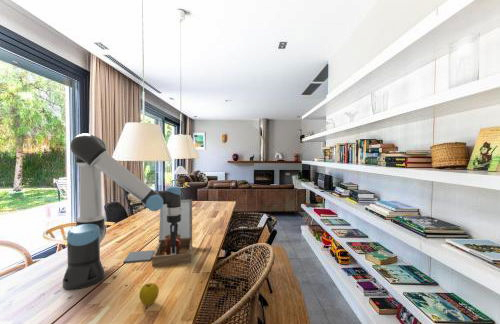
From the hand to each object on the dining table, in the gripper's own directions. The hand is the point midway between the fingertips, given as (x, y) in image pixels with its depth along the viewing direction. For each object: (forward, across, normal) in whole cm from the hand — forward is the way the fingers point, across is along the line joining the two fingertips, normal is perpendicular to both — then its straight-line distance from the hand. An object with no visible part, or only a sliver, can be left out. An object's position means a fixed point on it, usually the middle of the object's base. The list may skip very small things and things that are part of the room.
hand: (174, 254), depth 134 cm
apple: (0, -45, +5) cm, 45 cm away
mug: (0, 0, 0) cm, 1 cm away
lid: (-16, +15, 0) cm, 22 cm away
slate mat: (0, +2, +18) cm, 18 cm away
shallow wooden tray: (0, 0, 0) cm, 0 cm away
